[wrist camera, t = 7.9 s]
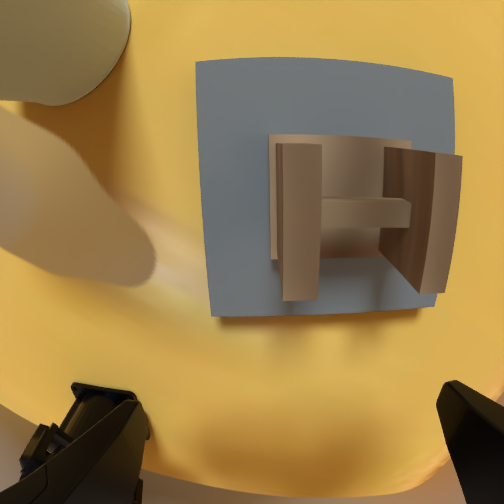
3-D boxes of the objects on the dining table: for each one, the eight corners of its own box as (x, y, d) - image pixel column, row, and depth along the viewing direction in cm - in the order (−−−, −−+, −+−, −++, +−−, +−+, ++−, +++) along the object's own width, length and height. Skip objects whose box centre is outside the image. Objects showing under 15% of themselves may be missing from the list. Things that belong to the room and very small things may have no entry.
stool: (270, 251, 17) (274, 311, 11) (268, 135, 15) (271, 130, 9) (394, 249, 17) (448, 300, 11) (401, 140, 15) (468, 145, 9)
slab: (215, 300, 20) (211, 316, 18) (202, 69, 16) (195, 61, 14) (421, 292, 20) (434, 306, 18) (436, 82, 15) (452, 78, 13)
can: (110, -39, 12) (13, -121, 1) (151, 54, 15) (20, -24, 4) (11, 36, 14) (-107, 17, 3) (39, 132, 17) (-108, 154, 5)
